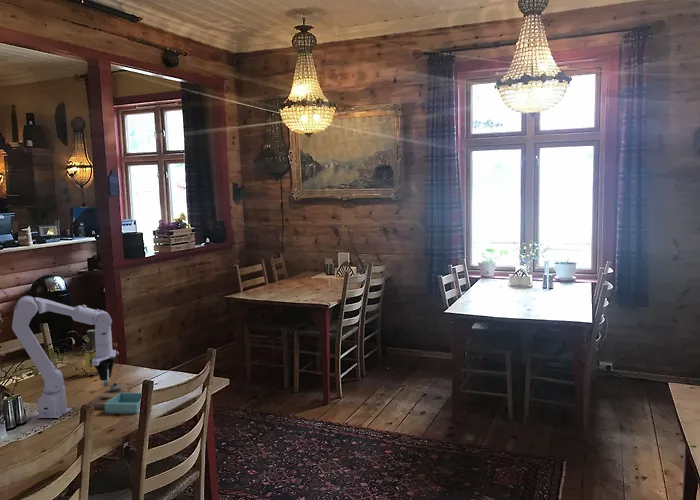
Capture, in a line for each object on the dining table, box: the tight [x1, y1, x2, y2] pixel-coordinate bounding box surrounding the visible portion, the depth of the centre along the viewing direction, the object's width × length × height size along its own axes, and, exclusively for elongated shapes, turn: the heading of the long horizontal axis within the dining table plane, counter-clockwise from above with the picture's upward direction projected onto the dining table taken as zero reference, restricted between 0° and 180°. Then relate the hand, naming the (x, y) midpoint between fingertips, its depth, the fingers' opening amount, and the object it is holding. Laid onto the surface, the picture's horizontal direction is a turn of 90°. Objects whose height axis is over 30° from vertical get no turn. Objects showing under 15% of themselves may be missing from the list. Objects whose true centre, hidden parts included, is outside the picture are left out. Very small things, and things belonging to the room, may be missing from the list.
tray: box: [104, 392, 142, 415], centre depth 212 cm, size 12×12×4 cm
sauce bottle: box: [84, 329, 99, 377], centre depth 251 cm, size 7×6×20 cm
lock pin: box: [101, 367, 110, 388], centre depth 214 cm, size 2×2×7 cm
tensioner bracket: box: [86, 382, 131, 410], centre depth 219 cm, size 18×8×5 cm, turn 176°
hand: (105, 378), depth 214 cm, fingers closed on lock pin, 2 cm apart
